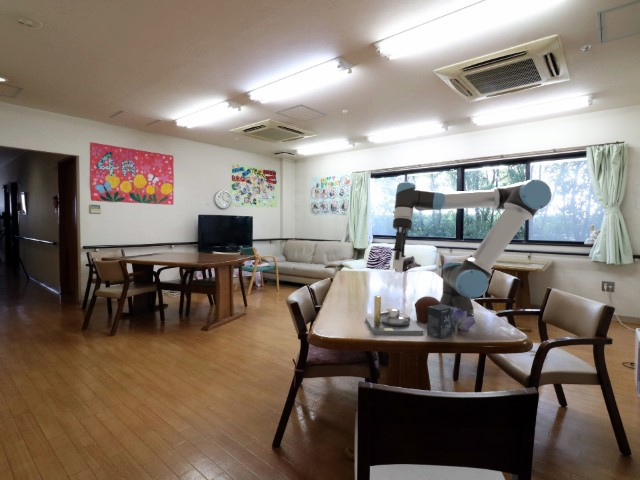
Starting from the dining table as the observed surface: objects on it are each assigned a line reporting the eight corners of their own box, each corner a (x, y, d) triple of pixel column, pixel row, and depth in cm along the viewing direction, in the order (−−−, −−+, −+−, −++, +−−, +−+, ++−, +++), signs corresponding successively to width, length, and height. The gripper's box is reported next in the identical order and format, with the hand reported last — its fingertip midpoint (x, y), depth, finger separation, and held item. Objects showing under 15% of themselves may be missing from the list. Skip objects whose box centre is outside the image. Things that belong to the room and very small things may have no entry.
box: (439, 339, 114) (440, 309, 113) (426, 335, 119) (427, 306, 118) (453, 335, 118) (454, 306, 118) (440, 331, 123) (441, 303, 122)
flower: (468, 319, 115) (466, 301, 124) (444, 325, 120) (444, 308, 128) (479, 338, 118) (477, 319, 126) (456, 343, 122) (454, 325, 130)
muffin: (442, 327, 128) (443, 301, 128) (413, 324, 132) (414, 299, 131) (441, 318, 139) (442, 295, 139) (414, 316, 143) (415, 293, 142)
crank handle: (395, 316, 135) (396, 289, 134) (416, 323, 126) (416, 294, 125) (365, 322, 126) (365, 294, 126) (385, 330, 117) (385, 299, 117)
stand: (408, 320, 136) (408, 317, 136) (423, 334, 119) (423, 330, 119) (365, 320, 135) (365, 317, 135) (374, 334, 118) (374, 330, 118)
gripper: (396, 226, 148) (391, 272, 144) (390, 210, 124) (384, 265, 121) (413, 227, 145) (408, 274, 142) (411, 211, 122) (405, 267, 119)
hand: (397, 270), depth 131 cm, fingers open, 13 cm apart
